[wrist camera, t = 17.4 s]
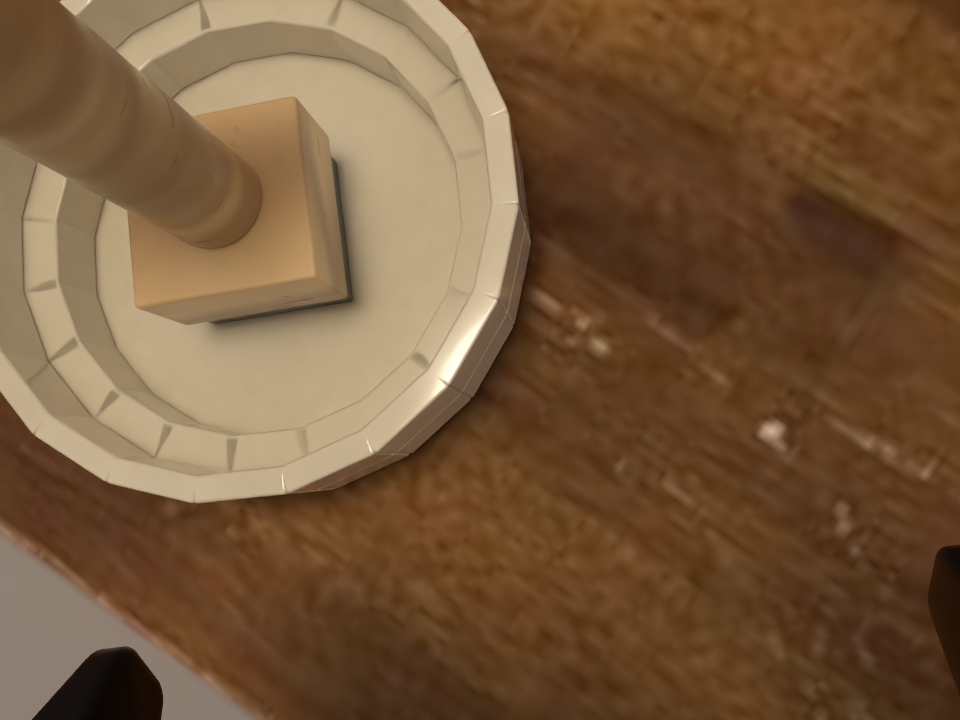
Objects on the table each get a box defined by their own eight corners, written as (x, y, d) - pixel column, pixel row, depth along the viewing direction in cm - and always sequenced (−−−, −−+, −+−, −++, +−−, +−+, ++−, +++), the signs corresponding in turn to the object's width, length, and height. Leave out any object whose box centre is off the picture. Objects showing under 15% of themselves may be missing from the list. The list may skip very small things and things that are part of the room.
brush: (362, 308, 22) (-20, 54, 8) (207, 333, 22) (-391, 133, 9) (343, 153, 22) (-43, -322, 9) (193, 181, 23) (-390, -227, 9)
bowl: (367, 591, 21) (314, 620, 17) (-26, 341, 24) (-150, 316, 20) (623, 142, 22) (628, 72, 18) (213, -58, 24) (139, -160, 20)
